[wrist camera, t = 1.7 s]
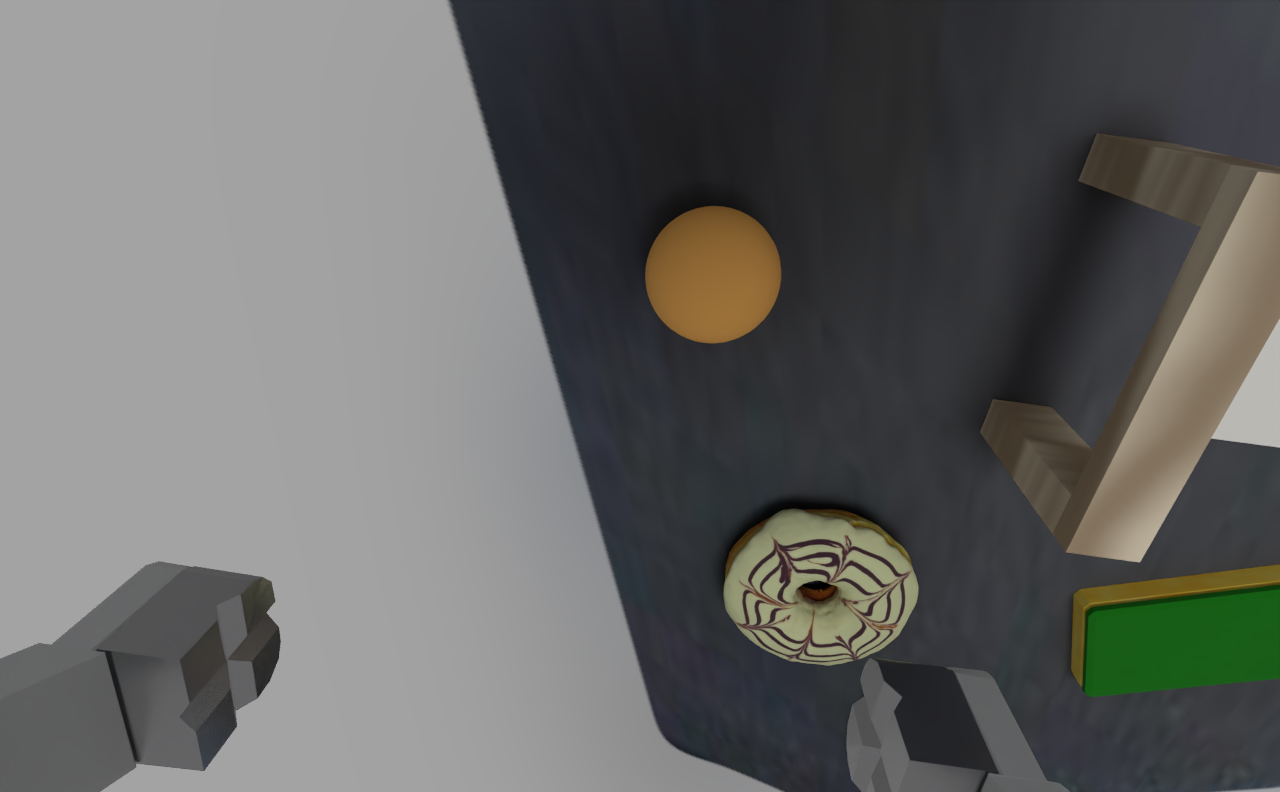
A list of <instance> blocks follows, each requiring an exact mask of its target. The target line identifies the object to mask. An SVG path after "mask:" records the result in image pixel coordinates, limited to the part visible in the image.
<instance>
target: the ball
mask: <svg viewBox="0 0 1280 792" xmlns="http://www.w3.org/2000/svg"><path fill="white" fill-rule="evenodd" d="M645 281H646V289H647V293H648V297H649V299H650V302H651V304H652V306H653V308H654V310H655V312H656V313H657V315H658V316H659V318H660V319H661V320H662V321H663V322H664V323H665V324H666V325H667V326H668V327H669V328H670V329H672V330H673V331H674V332H676V333H678V334H679V335H681V336H683V337H685V338H687V339H690V340H693V341H697V342H702V343H722V342H727V341H731V340H734V339H737V338H739V337H741V336H743V335H745V334H747V333H749V332H750V331H752V330H753V329H754V328H755V327H757V326H758V325H759V324H760V323H761V322H762V321H763V320H764V319H765V317H766V316H767V315H768V314H769V312H770V310H771V309H772V307H773V305H774V303H775V301H776V298H777V296H778V292H779V289H780V283H781V265H780V258H779V254H778V251H777V248H776V246H775V244H774V242H773V240H772V238H771V237H770V235H769V234H768V232H767V231H766V230H765V229H764V227H763V226H762V225H761V224H759V223H758V222H757V221H756V220H755V219H753V218H752V217H750V216H749V215H747V214H745V213H743V212H741V211H739V210H736V209H733V208H728V207H723V206H706V207H701V208H696V209H693V210H690V211H688V212H686V213H684V214H682V215H680V216H678V217H677V218H675V219H674V220H672V221H671V222H670V223H669V224H668V225H667V226H665V228H664V229H663V230H662V231H661V232H660V233H659V235H658V236H657V238H656V239H655V241H654V243H653V245H652V247H651V249H650V252H649V255H648V258H647V263H646V272H645Z"/></svg>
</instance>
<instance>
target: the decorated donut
mask: <svg viewBox="0 0 1280 792" xmlns="http://www.w3.org/2000/svg"><path fill="white" fill-rule="evenodd" d="M816 580H819V581H823V582H825V583H828V584H831V585H830V586H827V587H825V588H823V589H816V590H814V589H811V588H807V587H804V586H801V585H802V584H805V583H808V582H812V581H816ZM917 597H918V583H917V579H916V576H915V573H914V571H913V568H912V564H911V561H910V557H909V555H908V553H907V552H906V550H905V549H904V548H903V547H902V546H901V545H900V544H899V543H898V542H897V541H895V540H894V539H893V538H892V537H891V536H890V535H888V534H887V533H886V532H885V531H884V530H883V529H882V528H881V527H880V526H879V525H877V524H875V523H873V522H871V521H869V520H867V519H865V518H862V517H860V516H858V515H856V514H853V513H851V512H848V511H842V510H836V509H821V510H818V509H806V510H800V509H787V510H782V511H780V512H778V513H776V514H775V515H773V516H772V517H770V518H768V519H766V520H764V521H762V522H760V523H759V524H757V525H756V526H754V527H752V528H751V529H749V530H748V531H747V532H746V533H745V534H744V535H743V536H742V537H741V538H740V539H739V540H738V541H737V542H736V544H735V545H734V546H733V548H732V549H731V551H730V552H729V557H728V559H727V563H726V571H725V583H724V600H725V608H726V611H727V612H728V614H729V615H730V617H731V618H732V619H733V621H734V622H735V623H736V625H737V626H738V628H739V629H740V630H741V631H742V633H743V634H744V635H746V636H747V637H748V638H749V639H750V640H751V641H753V642H754V643H755V644H756V645H758V646H760V647H761V648H763V649H765V650H767V651H769V652H771V653H773V654H775V655H777V656H779V657H782V658H784V659H786V660H789V661H798V662H802V663H812V664H822V665H834V664H842V663H845V662H849V661H854V660H858V659H861V658H864V657H866V656H867V655H869V654H872V653H874V652H877V651H879V650H881V649H882V648H884V647H885V646H886V645H887V644H889V643H890V642H891V641H892V640H893V639H895V638H896V637H897V636H898V635H899V633H900V632H901V630H902V628H903V627H904V625H905V624H906V622H907V619H908V617H909V616H910V614H911V612H912V610H913V608H914V607H915V604H916V602H917Z"/></svg>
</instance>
